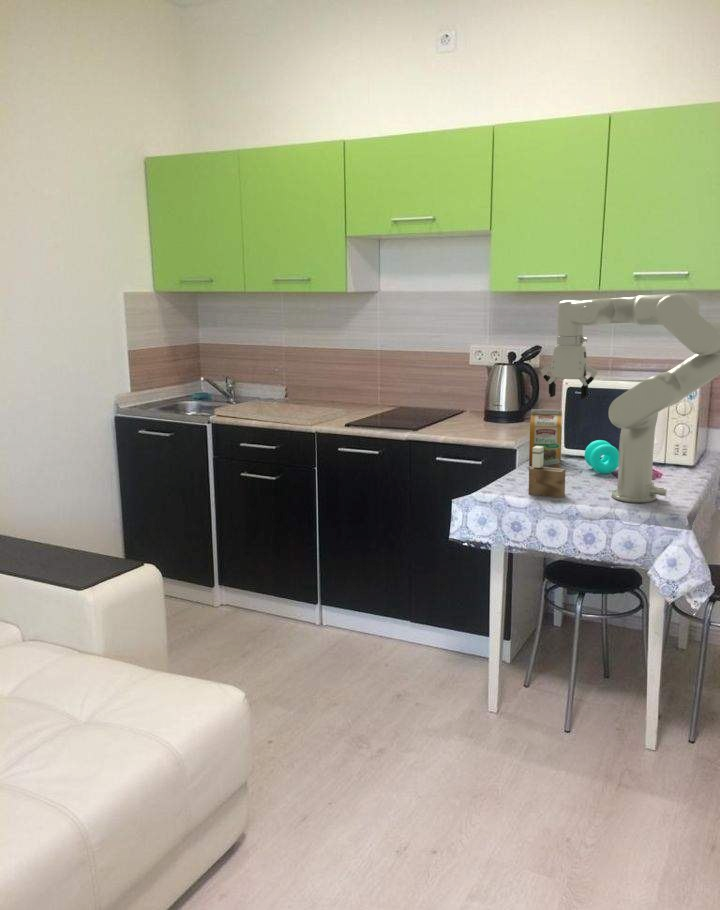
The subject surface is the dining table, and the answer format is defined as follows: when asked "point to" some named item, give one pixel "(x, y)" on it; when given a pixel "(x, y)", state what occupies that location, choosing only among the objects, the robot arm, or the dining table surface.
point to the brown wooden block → (547, 481)
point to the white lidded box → (537, 456)
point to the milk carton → (546, 435)
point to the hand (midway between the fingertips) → (567, 397)
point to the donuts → (609, 459)
